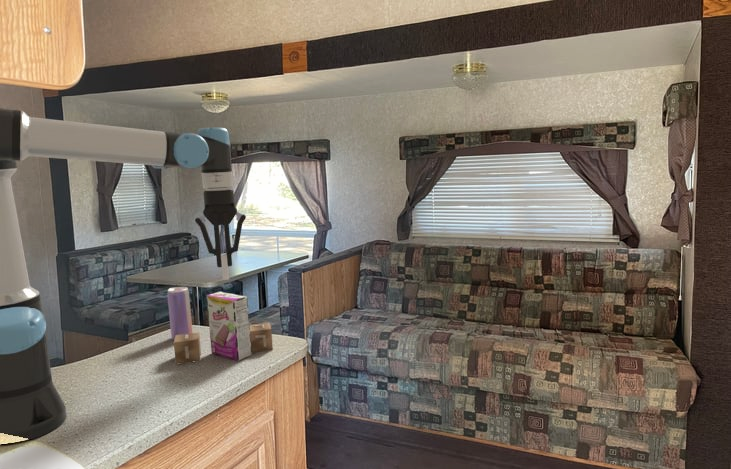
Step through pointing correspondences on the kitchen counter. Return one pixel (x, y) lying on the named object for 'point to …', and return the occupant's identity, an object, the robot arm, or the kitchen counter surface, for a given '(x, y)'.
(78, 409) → the kitchen counter surface
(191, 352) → the walnut block one
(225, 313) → the candy bar box
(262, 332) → the walnut block seven
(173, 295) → the beverage can
